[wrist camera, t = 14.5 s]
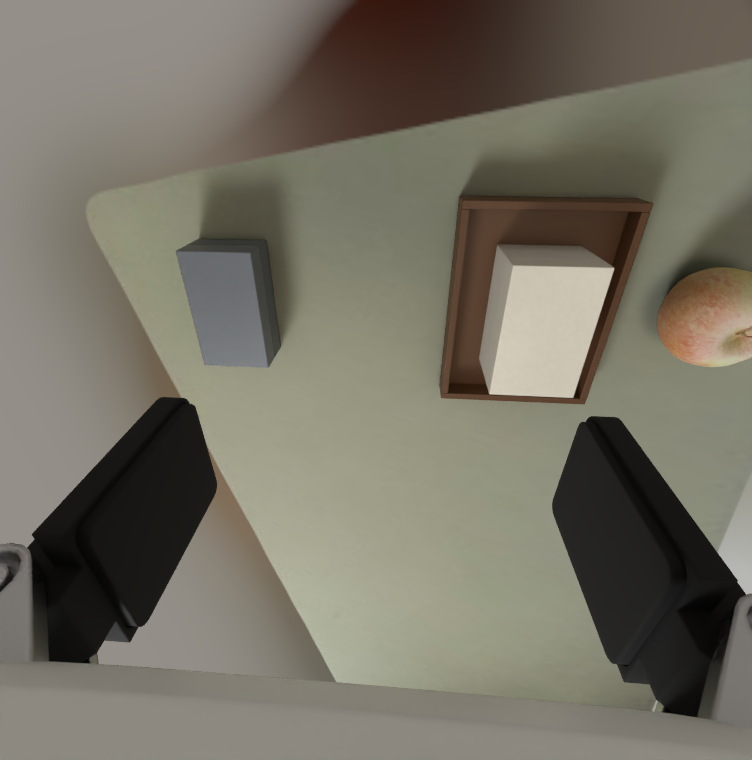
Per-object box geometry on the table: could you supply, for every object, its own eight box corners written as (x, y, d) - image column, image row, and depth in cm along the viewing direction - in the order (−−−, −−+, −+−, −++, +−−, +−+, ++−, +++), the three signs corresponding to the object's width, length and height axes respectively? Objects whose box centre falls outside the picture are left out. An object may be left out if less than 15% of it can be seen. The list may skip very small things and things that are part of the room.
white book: (506, 257, 29) (513, 265, 27) (602, 259, 28) (615, 267, 26) (485, 381, 34) (489, 394, 32) (565, 384, 34) (573, 398, 32)
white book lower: (497, 243, 32) (501, 250, 30) (582, 245, 32) (592, 252, 30) (478, 358, 37) (481, 369, 36) (551, 361, 37) (558, 372, 35)
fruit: (717, 235, 31) (803, 264, 24) (756, 300, 33) (845, 344, 27) (623, 301, 34) (676, 343, 27) (665, 356, 37) (723, 408, 30)
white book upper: (501, 250, 30) (507, 257, 29) (591, 252, 30) (603, 259, 28) (481, 369, 36) (485, 381, 34) (557, 372, 35) (565, 384, 34)
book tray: (459, 195, 31) (462, 200, 29) (638, 198, 30) (654, 203, 28) (439, 385, 40) (440, 398, 38) (576, 390, 39) (585, 404, 37)
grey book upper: (187, 244, 32) (175, 250, 30) (258, 246, 32) (250, 252, 30) (213, 354, 37) (204, 365, 36) (275, 357, 37) (268, 367, 35)
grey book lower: (198, 238, 34) (187, 244, 32) (266, 240, 33) (258, 246, 32) (222, 344, 39) (213, 354, 37) (280, 347, 39) (275, 357, 37)
